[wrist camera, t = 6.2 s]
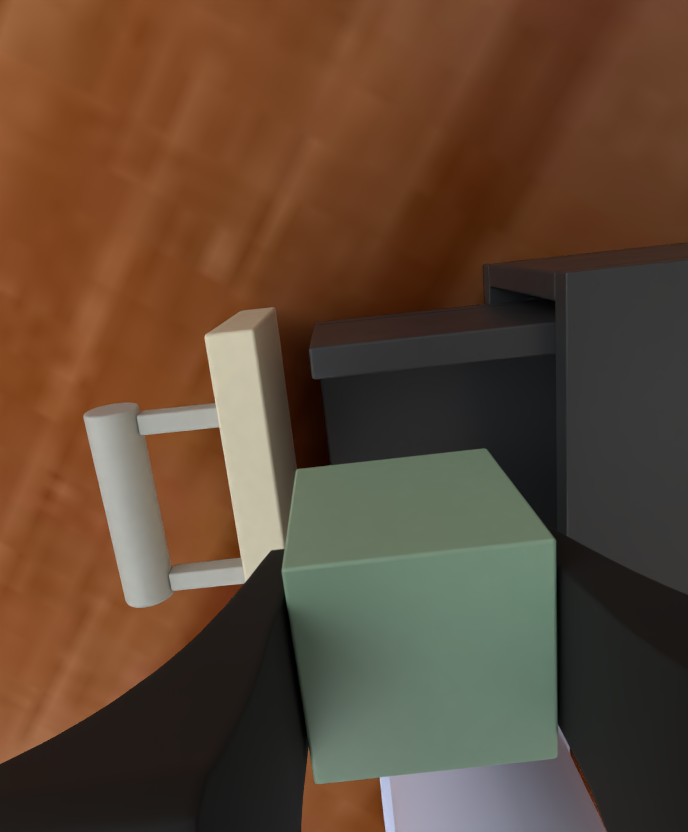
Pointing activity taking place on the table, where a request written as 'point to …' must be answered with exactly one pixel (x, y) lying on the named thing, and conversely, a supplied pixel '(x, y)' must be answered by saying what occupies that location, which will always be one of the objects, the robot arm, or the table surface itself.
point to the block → (421, 617)
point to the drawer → (336, 422)
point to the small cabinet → (617, 398)
